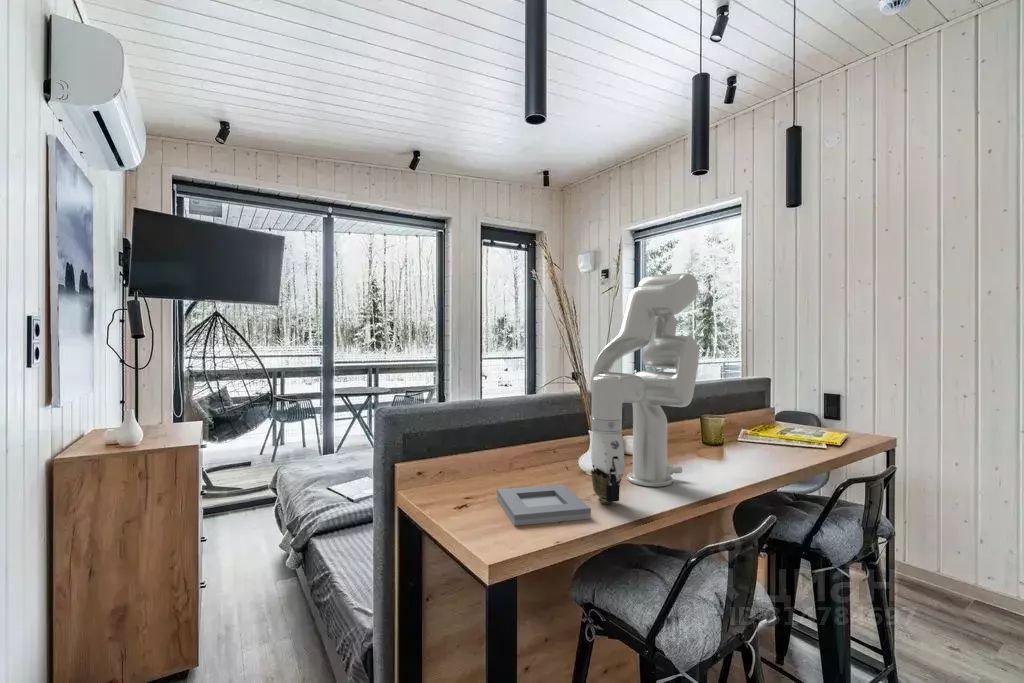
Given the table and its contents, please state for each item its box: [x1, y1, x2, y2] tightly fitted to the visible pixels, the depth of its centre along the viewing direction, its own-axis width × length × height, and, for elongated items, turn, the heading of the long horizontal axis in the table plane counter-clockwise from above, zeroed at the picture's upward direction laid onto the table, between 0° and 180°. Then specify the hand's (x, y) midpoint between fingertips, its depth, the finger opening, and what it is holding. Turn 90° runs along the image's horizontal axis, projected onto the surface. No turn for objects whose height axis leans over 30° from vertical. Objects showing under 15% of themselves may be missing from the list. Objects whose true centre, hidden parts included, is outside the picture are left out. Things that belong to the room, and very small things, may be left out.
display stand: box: [496, 484, 592, 527], centre depth 118 cm, size 18×18×2 cm
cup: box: [590, 468, 621, 505], centre depth 122 cm, size 8×7×8 cm
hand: (606, 495), depth 122 cm, fingers closed on cup, 7 cm apart
